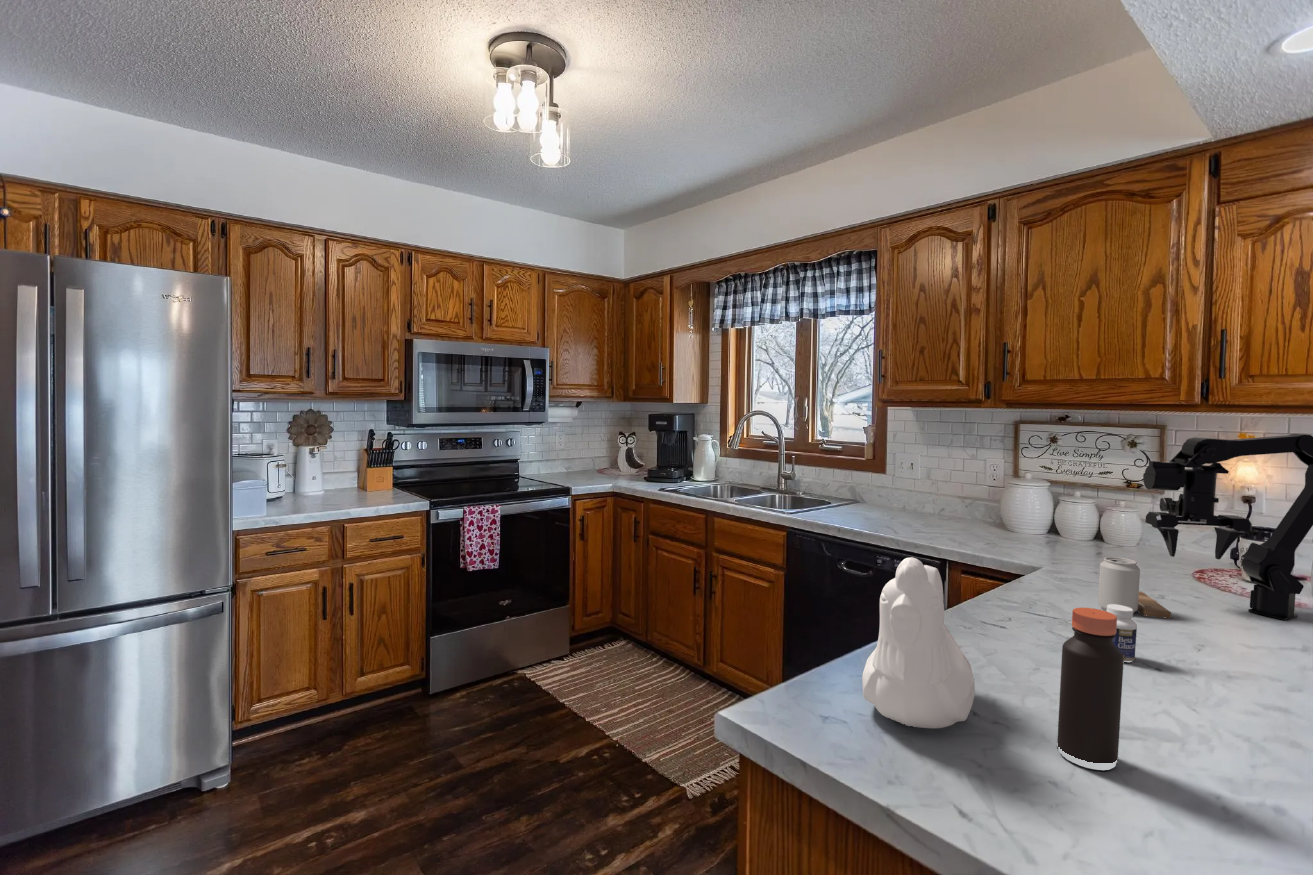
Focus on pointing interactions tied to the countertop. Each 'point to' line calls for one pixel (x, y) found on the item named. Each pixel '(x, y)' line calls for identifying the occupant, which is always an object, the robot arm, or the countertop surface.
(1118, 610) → the pill bottle
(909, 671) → the decorative rooster
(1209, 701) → the countertop surface
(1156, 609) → the plank
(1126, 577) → the can
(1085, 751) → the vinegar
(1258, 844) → the countertop surface
